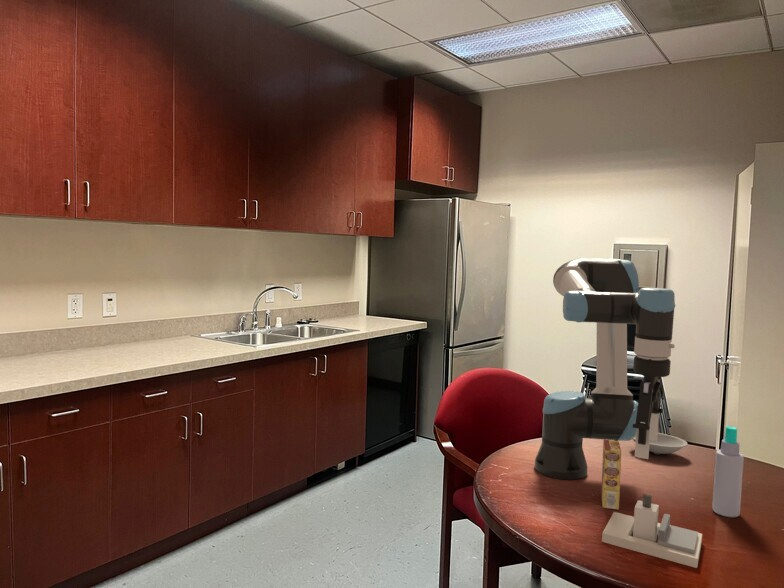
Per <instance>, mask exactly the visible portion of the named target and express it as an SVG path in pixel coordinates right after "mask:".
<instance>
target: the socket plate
mask: <svg viewBox="0 0 784 588" xmlns="http://www.w3.org/2000/svg"><path fill="white" fill-rule="evenodd" d="M660 524H661V523H660V522H658V527H657V536H658V532H659V527H660ZM633 528H634V515H629V514H626V513H625V514H624V513H621V512H617V511H613V512H612V514H611V516H610V518H609V520H608V522H607V523H606V526H605V527H604V529H603V531H602V533H601V534H602V535H601V542H602V543H606V544H608V545H611V546H612V545H613V546H616V547H618V548H622V549H623V548H624V549H627V550H630V551H634V552H636V553H637V552H638V553H641V554H644V555H648V556H652V557H656V558H659V559H662V560H666V561H670V562H674V563H676V564H677V563H678V564H680V565H684V566H688V567H692V568H695V569H697V568H698V565H699V560H700V554H701V548H702V544H703V543H702V542H703V533H700V532H698V537H697V542H696V547H695V552H694V554H693V553H689V552H686V551H682V550H678V549H674V548H671V547H667V546H663V545H659V544H658V541H656V543H655V542H651V541H647V540H644V539H640V538H636V537H633Z"/></svg>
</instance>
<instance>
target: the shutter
mask: <svg viewBox="0 0 784 588" xmlns="http://www.w3.org/2000/svg"><path fill="white" fill-rule="evenodd" d="M670 522H671V514H669V513H663V516H662V519H661V524H660V527H659V532H658V535H657V542H658V544H659V545H663V546H667V547H671V548H674V549H678V550H682V551H686V552H689V553H693V554H694V552H695V547H696V542H697V537H698V533H699V531H696V530H691V529H689V528H688V529H687V528H685V527H684V528H683V527H680V526H676V525H671V523H670Z"/></svg>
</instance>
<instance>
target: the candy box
mask: <svg viewBox="0 0 784 588" xmlns="http://www.w3.org/2000/svg"><path fill="white" fill-rule="evenodd" d="M602 443H603V444H602V446H603V447H602V463H601V464H602V465H601V502H602V503H601V504H602V508H604V509H612V510H619V509H620V492H621V491H620V490H621V473H622V472H621V470H622V469H621V468H622V449H621V443H620V441H614V440H603V442H602Z"/></svg>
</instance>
